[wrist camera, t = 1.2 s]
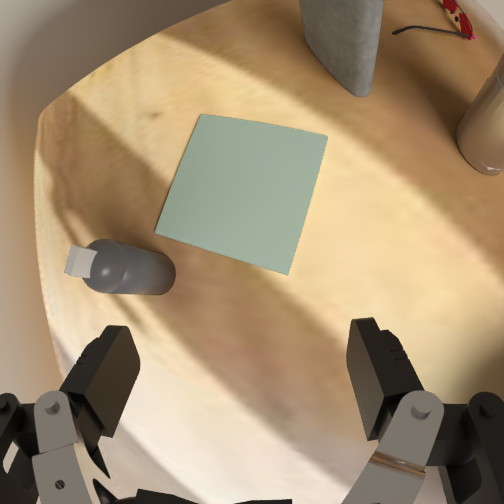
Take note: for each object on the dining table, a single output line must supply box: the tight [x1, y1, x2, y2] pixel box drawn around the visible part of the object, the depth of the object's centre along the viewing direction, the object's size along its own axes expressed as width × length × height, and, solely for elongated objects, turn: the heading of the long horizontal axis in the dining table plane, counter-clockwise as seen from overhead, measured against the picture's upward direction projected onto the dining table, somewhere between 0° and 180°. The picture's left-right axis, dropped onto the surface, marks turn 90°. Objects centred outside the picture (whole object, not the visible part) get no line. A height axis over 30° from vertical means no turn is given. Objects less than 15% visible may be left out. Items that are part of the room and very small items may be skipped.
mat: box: [155, 114, 328, 275], centre depth 38 cm, size 18×18×1 cm
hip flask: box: [299, 0, 384, 97], centre depth 28 cm, size 16×4×20 cm, turn 24°
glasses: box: [392, 0, 475, 40], centre depth 34 cm, size 14×16×5 cm
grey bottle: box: [64, 239, 176, 295], centre depth 31 cm, size 5×5×16 cm
